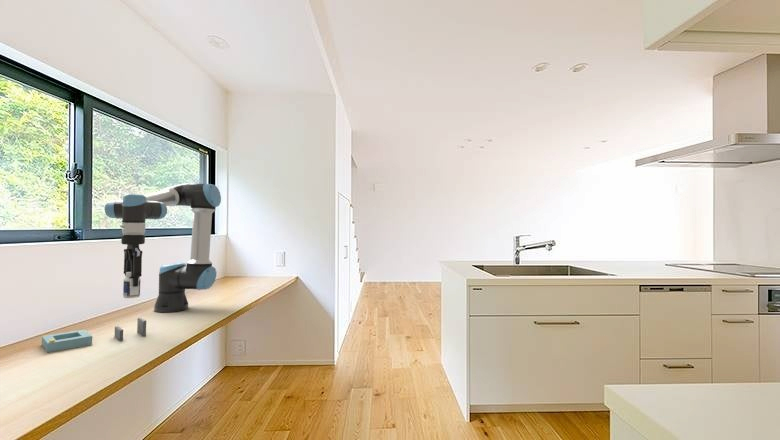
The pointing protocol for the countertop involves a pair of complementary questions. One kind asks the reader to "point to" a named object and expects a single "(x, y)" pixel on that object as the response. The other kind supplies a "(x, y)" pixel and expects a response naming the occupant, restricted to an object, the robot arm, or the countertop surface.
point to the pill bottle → (128, 287)
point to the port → (66, 340)
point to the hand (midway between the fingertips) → (131, 293)
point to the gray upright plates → (140, 329)
